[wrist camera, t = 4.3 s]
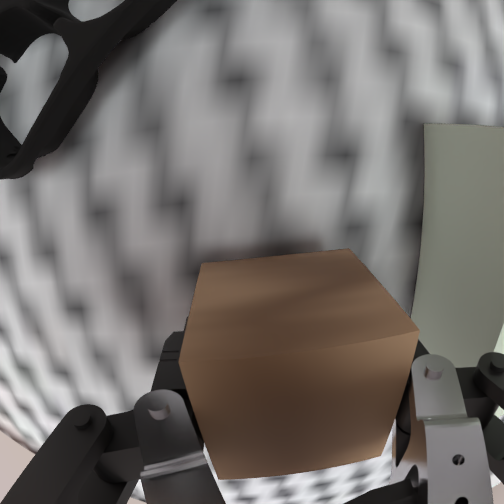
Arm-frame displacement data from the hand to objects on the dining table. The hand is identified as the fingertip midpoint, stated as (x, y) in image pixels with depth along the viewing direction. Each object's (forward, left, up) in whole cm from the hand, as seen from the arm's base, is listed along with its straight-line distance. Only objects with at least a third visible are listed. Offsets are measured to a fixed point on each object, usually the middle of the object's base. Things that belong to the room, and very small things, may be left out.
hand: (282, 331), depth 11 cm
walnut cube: (0, 0, -1) cm, 1 cm away
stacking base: (-13, -1, -3) cm, 13 cm away
